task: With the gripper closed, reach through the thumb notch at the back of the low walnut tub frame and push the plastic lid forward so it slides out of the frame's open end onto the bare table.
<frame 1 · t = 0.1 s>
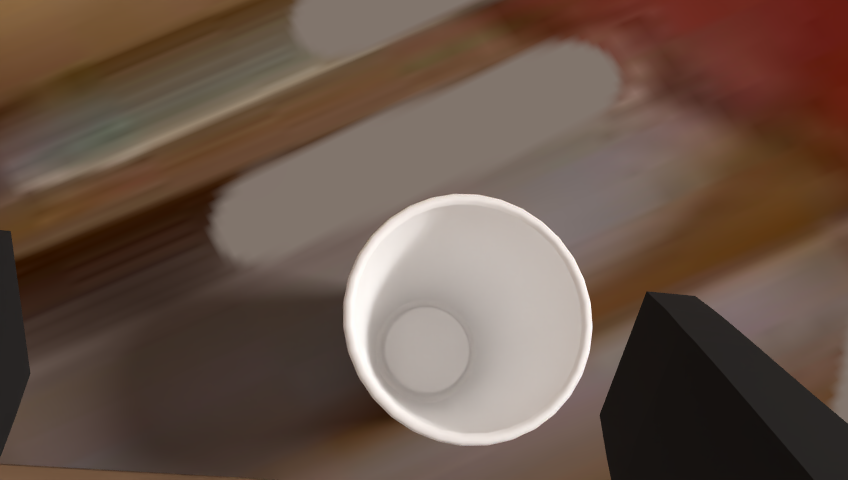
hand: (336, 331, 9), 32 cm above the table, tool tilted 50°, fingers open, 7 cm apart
cup: (425, 351, 42), on the table
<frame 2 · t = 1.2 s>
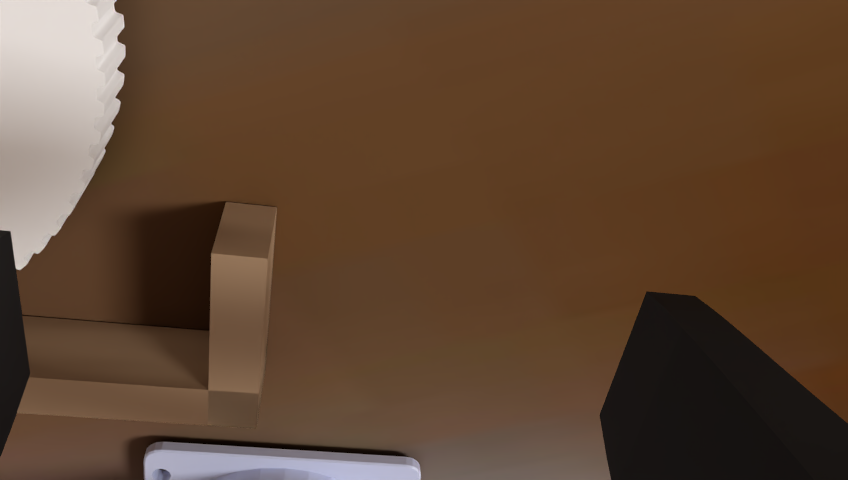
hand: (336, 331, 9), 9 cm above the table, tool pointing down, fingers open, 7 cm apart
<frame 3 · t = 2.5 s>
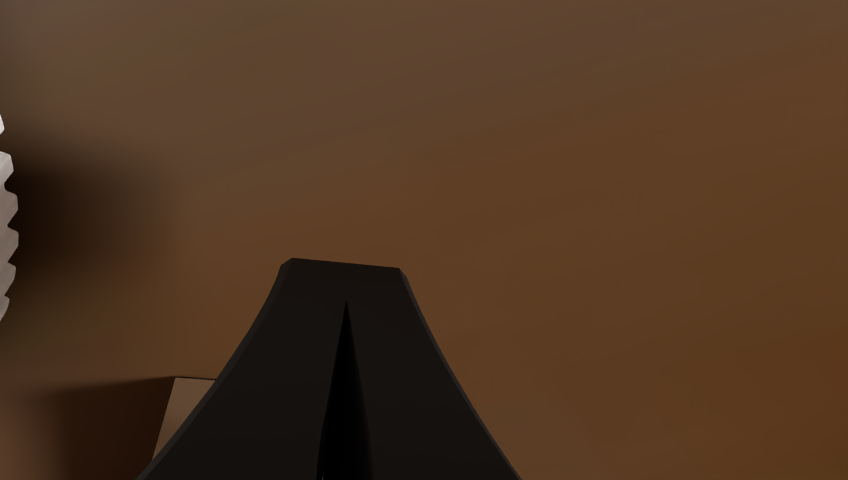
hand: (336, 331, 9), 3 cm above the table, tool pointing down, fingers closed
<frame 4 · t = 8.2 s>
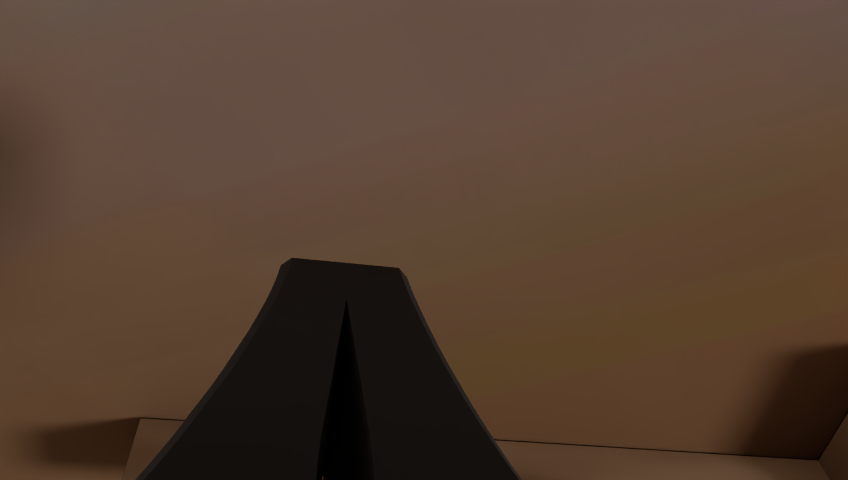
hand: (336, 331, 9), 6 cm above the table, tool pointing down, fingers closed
tub frame: (605, 141, 15), on the table
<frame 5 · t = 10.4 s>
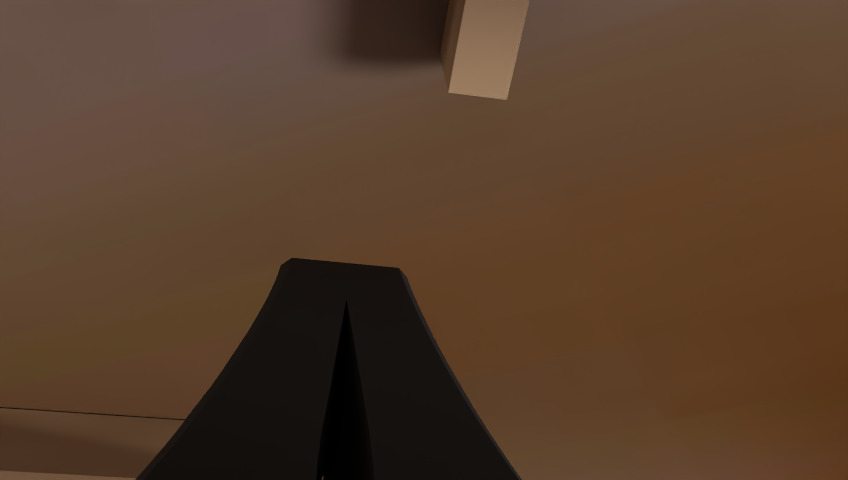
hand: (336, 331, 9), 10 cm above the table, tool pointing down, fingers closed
tub frame: (77, 171, 19), on the table
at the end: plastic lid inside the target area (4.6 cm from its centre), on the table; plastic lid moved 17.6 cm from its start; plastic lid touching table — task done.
